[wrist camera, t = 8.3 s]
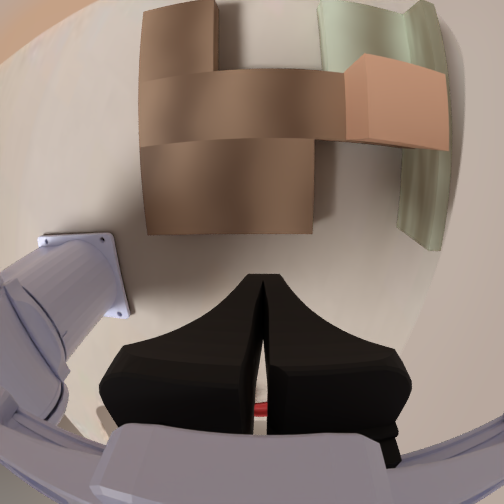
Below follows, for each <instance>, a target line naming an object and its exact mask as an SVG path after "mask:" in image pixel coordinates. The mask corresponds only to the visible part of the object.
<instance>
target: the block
mask: <svg viewBox="0 0 504 504" xmlns="http://www.w3.org/2000/svg"><path fill="white" fill-rule="evenodd" d="M344 79H345V100H346V140H355V141H365V142H374V143H383V144H390V145H398V146H404V147H411V148H419V149H431V150H441V151H449V112H448V96H447V85H446V76H445V74H443V73H440V72H437V71H434V70H431V69H428V68H425V67H421V66H418V65H414V64H411V63H407V62H403V61H399V60H395V59H391V58H386V57H382V56H377V55H372V54H366V53H364V54H363V55H362V56H361V57H360V58H359V59H358V60H356V61H355V62H354V63H353V64H352V65H351V66H350V67H349V68H348V69H347V70H346V71H345V72H344Z"/></svg>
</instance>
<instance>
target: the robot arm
mask: <svg viewBox="0 0 504 504" xmlns="http://www.w3.org/2000/svg"><path fill="white" fill-rule="evenodd" d="M102 237H103V238H104V240H105V241H103V240H102ZM38 245H39V248H38V249H36V250H34V251H32V252H31V253H29V254H27V255H26V256H24V257H23V258H21V259H19V260H18V261H16V262H15V263H13V264H11V265H10V266H8V267H7V268H5V269H4V270H3V271H1V272H0V463H1V464H2V465H3V466H5V467H6V468H7V469H8V470H10V471H11V472H12V473H13V474H15V475H16V476H17V477H19V478H20V479H22V480H23V481H24V482H26V483H27V484H29V485H30V486H31V487H33V488H34V489H36V490H37V491H39V492H40V493H42V494H44V495H45V496H47V497H48V498H50V499H51V500H53V501H55V502H57V503H58V504H475V503H477V502H478V501H480V500H481V499H483V498H485V497H486V496H488V495H489V494H491V493H493V492H494V491H496V490H497V489H498V488H500V487H501V486H503V485H504V413H503V415H502V416H500V417H498V418H496V419H494V420H492V421H490V422H488V423H486V424H484V425H482V426H480V427H478V428H476V429H474V430H472V431H469V432H467V433H465V434H462V435H460V436H457V437H455V438H452V439H450V440H447V441H444V442H441V443H439V444H436V445H433V446H430V447H427V448H424V449H421V450H418V451H414V452H411V453H407V454H403V455H400V452H399V449H398V446H397V442H396V439H395V437H397V436H398V432H399V431H398V428H397V425H396V422H395V421H396V419H397V418H398V416H399V414H400V413H401V411H402V409H403V407H404V405H405V404H406V402H407V400H408V398H409V396H410V393H411V390H412V381H411V379H410V376H409V374H408V372H407V370H406V368H405V366H404V364H403V362H402V361H401V359H400V357H399V356H398V354H397V352H396V351H395V349H392V348H389V347H385V346H382V345H379V344H375V343H372V342H369V341H366V340H363V339H361V338H358V337H356V336H353V335H351V334H349V333H347V332H345V331H343V330H341V329H339V328H337V327H336V326H334V325H332V324H330V323H329V322H327V321H325V320H324V319H322V318H321V317H320V316H318V315H317V314H316V313H314V312H313V311H312V310H311V309H309V308H308V307H307V306H306V305H305V304H304V303H303V302H302V301H301V300H300V299H299V298H298V297H297V296H296V295H295V293H294V292H293V291H292V290H291V289H290V287H289V286H288V285H287V283H286V282H285V281H284V279H283V277H282V276H281V275H280V274H247V275H246V276H245V277H244V279H243V280H242V281H241V282H240V283H239V285H238V286H237V287H236V288H235V289H234V290H233V291H232V292H231V293H230V294H229V295H228V296H227V297H226V298H225V299H224V300H223V301H222V302H221V303H219V304H218V305H217V306H216V307H215V308H213V309H212V310H211V311H209V312H208V313H206V314H205V315H203V316H202V317H200V318H198V319H196V320H195V321H193V322H191V323H189V324H187V325H185V326H183V327H181V328H179V329H177V330H174V331H172V332H169V333H167V334H164V335H161V336H158V337H155V338H152V339H149V340H145V341H141V342H137V343H133V344H129V345H124V346H123V347H122V348H121V349H120V351H119V352H118V354H117V355H116V357H115V358H114V360H113V362H112V363H111V365H110V367H109V368H108V370H107V371H106V373H105V375H104V377H103V378H102V380H101V382H100V384H99V393H100V396H101V398H102V401H103V403H104V405H105V407H106V408H107V410H108V412H109V413H110V415H111V417H112V418H113V420H114V421H115V423H116V424H117V426H118V427H119V428H117V429H116V430H114V431H113V432H112V433H111V436H110V438H109V440H108V442H107V445H103V444H100V443H98V442H95V441H92V440H89V439H87V438H84V437H81V436H79V435H76V434H74V433H72V432H69V431H67V430H64V429H62V428H60V427H58V426H57V425H58V424H59V422H60V421H61V419H62V417H63V416H64V413H65V411H66V407H67V403H68V398H69V391H68V388H67V386H66V384H65V383H64V380H65V379H66V377H67V376H68V374H69V373H70V369H69V368H68V366H67V364H66V362H67V360H68V359H69V358H70V356H71V355H72V354H73V353H74V351H75V350H76V349H77V347H78V346H79V345H80V344H81V342H82V341H83V340H84V339H85V337H86V336H87V335H88V334H89V332H90V331H91V330H92V329H93V328H94V326H95V325H96V324H97V323H98V322H99V320H100V319H101V318H102V317H103V316H106V317H114V318H123V319H128V318H129V316H130V310H129V306H128V302H127V298H126V294H125V290H124V286H123V281H122V277H121V272H120V267H119V263H118V258H117V252H116V247H115V241H114V237H113V235H112V234H111V233H86V234H64V235H44V236H40V237H38ZM120 312H121V313H122V314H121V313H120ZM263 341H264V352H265V363H266V374H267V388H268V397H267V435H253V427H254V408H255V390H256V381H257V375H258V369H259V362H260V356H261V350H262V343H263Z"/></svg>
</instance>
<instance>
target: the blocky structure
mask: <svg viewBox="0 0 504 504" xmlns="http://www.w3.org/2000/svg"><path fill="white" fill-rule="evenodd" d="M317 16H318V26H319V36H320V48H321V62H322V71H319V70H305V69H238V70H223V71H218V32H219V9H218V7H217V4H216V2H215V0H196V1H190V2H185V3H179V4H174V5H170V6H165V7H161V8H157V9H153V10H149V11H145V12H143V21H142V32H141V44H140V60H139V89H138V116H139V147H140V165H141V178H142V190H143V200H144V210H145V218H146V226H147V234H148V235H184V234H312V231H313V207H314V140H323V141H339V142H351V143H362V144H372V145H381V146H389V147H396V148H402V170H401V187H400V199H399V210H398V219H397V228H398V229H400V230H401V231H402V232H404V233H405V234H406V235H408V236H409V237H411V238H412V239H413V240H415V241H416V242H417V243H419V244H420V245H421V246H423V247H424V248H425V249H427V250H428V251H441V246H442V240H443V235H444V229H445V222H446V215H447V208H448V199H449V189H450V177H451V159H452V116H451V99H450V87H449V78H448V70H447V63H446V56H445V50H444V45H443V40H442V35H441V30H440V26H439V22H438V18H437V14H436V10H435V7H434V4H432V3H430V2H427V1H424V0H420V1H418V2H417V3H416V4H415V5H413V6H412V7H411V8H410V9H409V10H407V11H406V12H405V13H404V14H400V13H396V12H393V11H389V10H385V9H381V8H377V7H373V6H368V5H364V4H359V3H354V2H348V1H342V0H320V3H319V5H318V8H317ZM364 53H366V54H372V55H377V56H382V57H386V58H391V59H395V60H399V61H403V62H407V63H411V64H414V65H418V66H421V67H425V68H428V69H431V70H434V71H437V72H440V73H443V74H445V76H446V85H447V96H448V112H449V151H441V150H431V149H419V148H411V147H404V146H398V145H390V144H383V143H374V142H365V141H355V140H346V100H345V79H344V72H345V71H346V70H347V69H348V68H349V67H350V66H351V65H352V64H353V63H354V62H355V61H356V60H358V59H359V58H360V57H361V56H362V55H363V54H364Z"/></svg>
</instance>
